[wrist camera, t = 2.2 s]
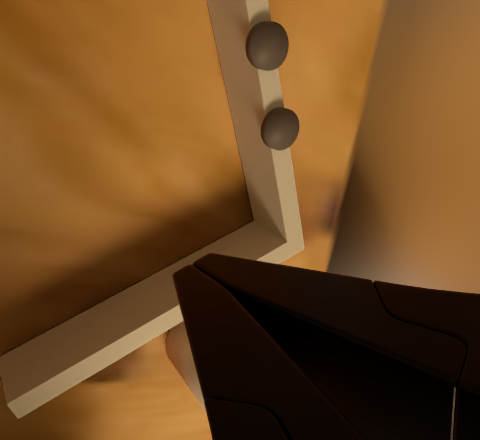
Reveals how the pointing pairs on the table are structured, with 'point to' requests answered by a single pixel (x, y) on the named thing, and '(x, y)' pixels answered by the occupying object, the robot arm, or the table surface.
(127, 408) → the table surface
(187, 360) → the cream capsule cylinder
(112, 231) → the table surface
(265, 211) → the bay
